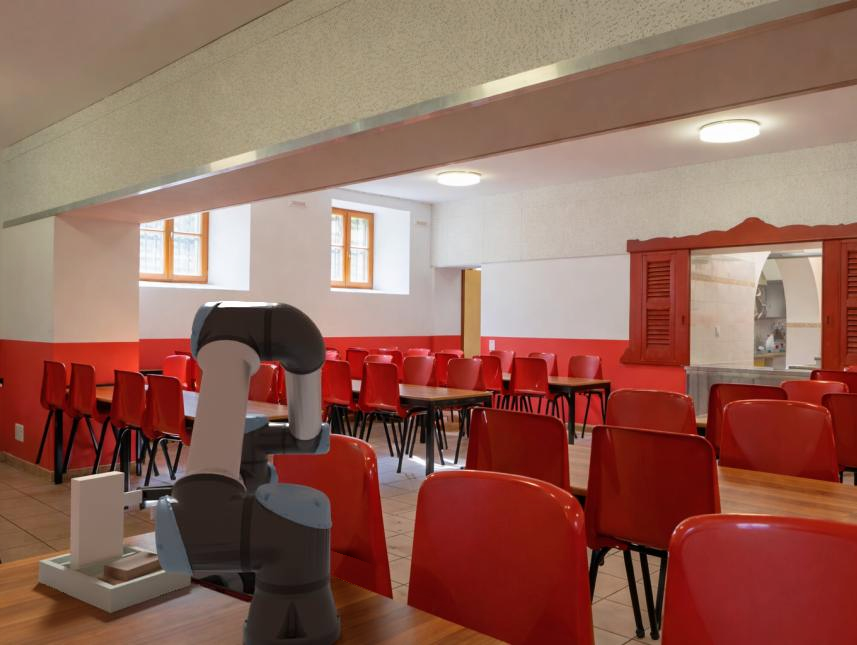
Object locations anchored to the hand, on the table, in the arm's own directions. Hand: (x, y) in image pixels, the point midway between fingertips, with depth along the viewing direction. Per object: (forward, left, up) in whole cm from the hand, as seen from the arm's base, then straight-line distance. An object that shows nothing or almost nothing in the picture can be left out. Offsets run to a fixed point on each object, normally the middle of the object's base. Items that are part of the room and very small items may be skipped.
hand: (131, 507), depth 144 cm
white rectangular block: (0, +7, -10) cm, 13 cm away
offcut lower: (-13, +7, -10) cm, 18 cm away
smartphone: (-21, -8, -13) cm, 26 cm away
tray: (-6, +7, -12) cm, 15 cm away
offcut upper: (-13, +7, -8) cm, 17 cm away
